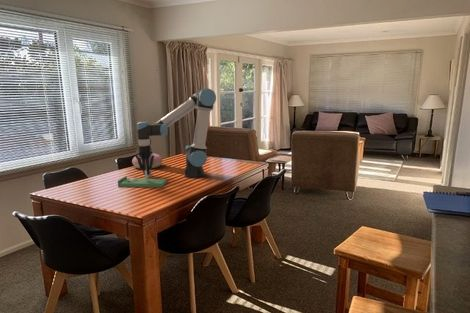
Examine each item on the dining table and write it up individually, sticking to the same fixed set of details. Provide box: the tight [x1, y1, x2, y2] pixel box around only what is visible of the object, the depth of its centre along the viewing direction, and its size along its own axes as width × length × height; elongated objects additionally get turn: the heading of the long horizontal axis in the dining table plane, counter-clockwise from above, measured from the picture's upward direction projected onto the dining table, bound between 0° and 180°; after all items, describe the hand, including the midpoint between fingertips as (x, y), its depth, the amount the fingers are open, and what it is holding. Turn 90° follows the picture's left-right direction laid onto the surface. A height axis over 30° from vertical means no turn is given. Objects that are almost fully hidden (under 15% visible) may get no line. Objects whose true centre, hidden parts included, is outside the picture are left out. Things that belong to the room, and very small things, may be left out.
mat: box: [117, 175, 168, 188], centre depth 224 cm, size 30×12×4 cm, turn 84°
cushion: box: [131, 153, 164, 170], centre depth 277 cm, size 25×25×10 cm
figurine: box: [140, 139, 155, 178], centre depth 243 cm, size 22×10×30 cm, turn 168°
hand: (146, 179), depth 224 cm, fingers closed
